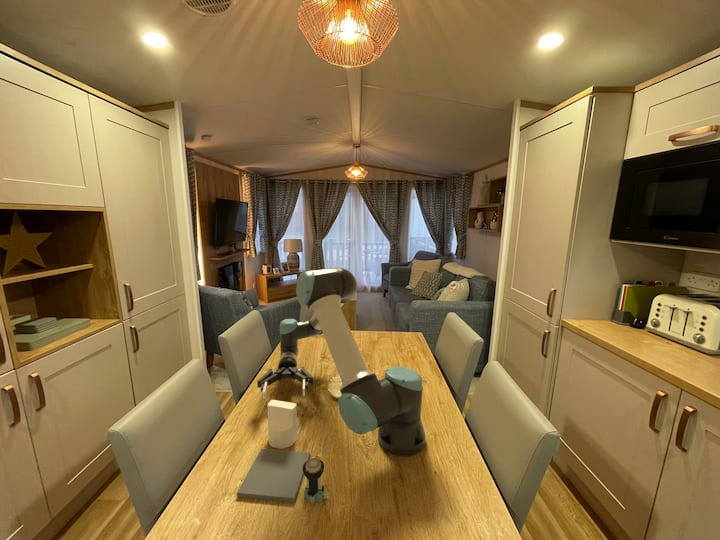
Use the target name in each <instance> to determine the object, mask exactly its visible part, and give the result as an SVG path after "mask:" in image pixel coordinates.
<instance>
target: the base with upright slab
mask: <svg viewBox="0 0 720 540" xmlns="http://www.w3.org/2000/svg"><path fill="white" fill-rule="evenodd" d="M297 417H298V416H297V403H295V402H289V401H282V400H276V399H271V400H270V401H269V402H268V403H267V420H268V421H267V430H268V431H267V432H268V433H267V434H268V443H269V445H270V446H271V448H275V449H278V450H282V449H286V448H288V447H290V446H293V444H295V443H296V441H297V440H298V418H297Z"/></svg>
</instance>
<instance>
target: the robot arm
mask: <svg viewBox="0 0 720 540" xmlns="http://www.w3.org/2000/svg"><path fill="white" fill-rule="evenodd" d="M357 283H358V282H357V279H356V278H355V275H354V274H353V273H352V272H351V271H350V270H349V269H345V268H343V267H334V268H325V269H317V270H316V269H315V270H313V269H311V270H305V271H303V272H301V273H300V274H299V276H298V277H297V281H296V287H295V288H296V289H295V290H296V299H297V302H298V304H299V305H300V306H302V307H307V309H308V311H309V313H310V314H311V315H312V316H311V318H310V319H307V320H303V321H299V322H298V321H297V320H296V319H294V318H286V319H283V320H281V321H280V323H279V337H280V338H279V339H280V356H279V360H278V366H277V368H276V370H275V369H274V370H273V368H269V369H268V371H267V372H266V373H264V374H263V375H262V376H261V377H260V378H259V379H257V381H256V383H257V388H259V389H260V392H261V393H262V400H265V399H266V398H267V397H266V396H267V393H268V387H269V386H270V385H272V384H274V383H275V382H278V381H281V380H282V379H293V380H296V381H298V382H299V383H301V384H302V396H303V397H306V389H307V390H308V389H309V384H310V385H311V384H314V377H313V376H312V374H311V373H309V372H308V371H307V370H306V369H305V367H304V366H301V367H300V368H298V354H299V348H298V344H299V343H298V341H299V340H303V339H305V338H306V339H307V338H310V337H314V336H321V335H323V336H324V339H325V342H326V344H327V347H328V349H329V352H330V354H331V358H332V359H333V362H334V364H335V367H336V371H337V372H338V374H339V376H340V379H341V382H342V383H341V386H340V388H339V391H340V394H341V395H340V396H339V397H338V399H337V400H338V401H337V402H338V403H337V405H338V412H339V414H340V416H341V418H342V421H343V422H344V424H345V425H346V426H347V427H348V429H349V430H350V431H352V432H353V433H354V434H356V435H364V434H368V433H370V432H374V431H375V430H377V429H378V430H377V439H378V443H379V445H381V447H382V448H383V449H384V450H385V451H387V452H389V453H391V454H394V455H397V456H403V457H405V456H406V457H408V456H412V455H413V456H414V455H416V454H418V453H419V452H421V451H422V450H423V449H424V447H425V444H426V432H425V429H424V425H423V421H422V419H421V417H422V416H421V415H422V403H423V402H422V399H423V390H424V389H423V378H422V376H421V375H420V374H419V373H418V372H417V371H415V370H414V369H412V368H408V367H404V366H391V367H388V368H386V370H385V372H384V377H383V378H382V379H378V376H377V374H376V373H375V372H373V371H370V370H369V369H368V366H367V364H366V362H365V360H364V358H363V356H362V355H363V354H362V352H361V350H360V349H359V346H358V344H357V342H356V339H355V337H354V335H353V333H352V330H351V328H350V326H349V323H348V321H347V319H346V317H345V315H344V312H343V310H342V307H343V306H344V304H348V303H349V302H350V301H351V300H352V299H353V298H354V296H355V295H356V293H357V289H358V284H357Z"/></svg>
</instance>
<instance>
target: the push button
mask: <svg viewBox="0 0 720 540" xmlns="http://www.w3.org/2000/svg"><path fill="white" fill-rule="evenodd" d="M324 470H325V463H324V461H323V460H321V459H319V458H317V457H311V458H309V460H308V461H306V462H305V463H304V465H303V473H304V476H303V477H305V478H306V485H305V487H304V490H303V500H306V501H310V503H315V502H323V500H324V499H330V497H331V496H330V493H331V492H329V491H325V486H324V485H322V475H323V474H324Z"/></svg>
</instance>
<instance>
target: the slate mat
mask: <svg viewBox="0 0 720 540" xmlns="http://www.w3.org/2000/svg"><path fill="white" fill-rule="evenodd" d="M310 457H311V453H310V452H306V451H296V450H295V451H293V450H284V449H283V450H282V449H273V448H272V449H270V448H261V449H260V450H259V452H258V454H257V456H256V457H255V459H254V460H253V463H252V464H251V466H250V468H249V470H248V472H247V473H246V475H245V477H244V479H243V481H242V483H241V484H240V487H239V489H238V490H237V492H236V496H237V497H238V498H249V499H257V500H268V501H278V502H285V503H286V502H287V503H295V502H296V500H297V497H298V493H299V490H300V487H301V484H302V483H303V478H304V477H305V476H304V473H303V465H304V463H305V462H306V461H308V460H309V459H311V458H310Z"/></svg>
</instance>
